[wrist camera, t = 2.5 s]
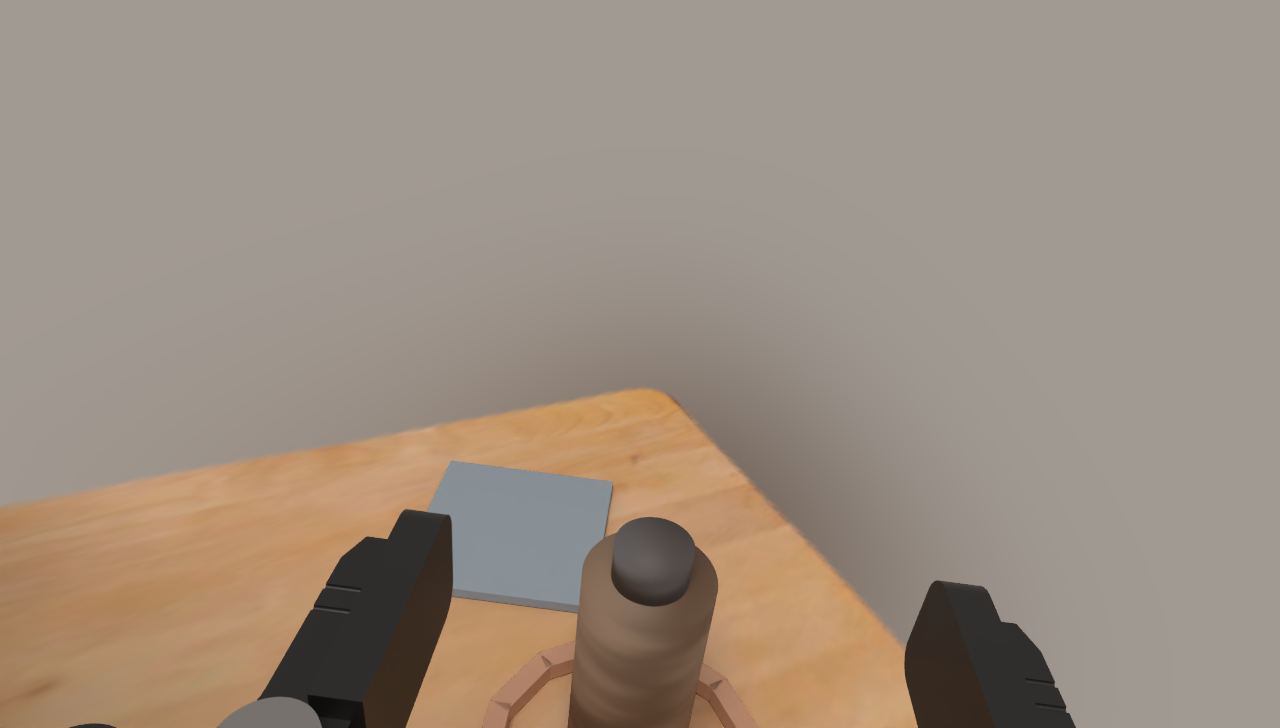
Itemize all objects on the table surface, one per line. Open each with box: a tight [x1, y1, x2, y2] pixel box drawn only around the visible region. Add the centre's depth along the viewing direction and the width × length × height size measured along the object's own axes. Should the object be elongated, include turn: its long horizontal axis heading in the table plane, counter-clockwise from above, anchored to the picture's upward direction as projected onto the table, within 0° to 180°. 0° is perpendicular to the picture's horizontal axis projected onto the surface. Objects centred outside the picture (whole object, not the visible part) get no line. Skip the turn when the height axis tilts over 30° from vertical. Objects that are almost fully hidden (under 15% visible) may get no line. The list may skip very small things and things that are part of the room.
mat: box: [427, 461, 613, 613], centre depth 48 cm, size 11×11×1 cm
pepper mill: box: [568, 517, 718, 728], centre depth 32 cm, size 5×5×14 cm
